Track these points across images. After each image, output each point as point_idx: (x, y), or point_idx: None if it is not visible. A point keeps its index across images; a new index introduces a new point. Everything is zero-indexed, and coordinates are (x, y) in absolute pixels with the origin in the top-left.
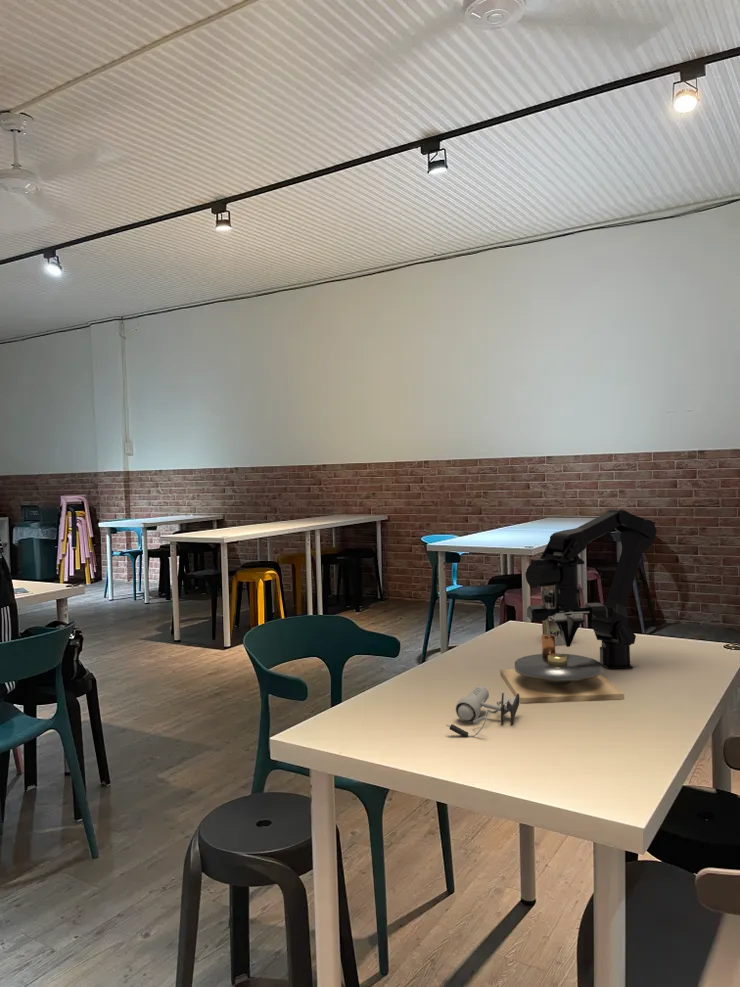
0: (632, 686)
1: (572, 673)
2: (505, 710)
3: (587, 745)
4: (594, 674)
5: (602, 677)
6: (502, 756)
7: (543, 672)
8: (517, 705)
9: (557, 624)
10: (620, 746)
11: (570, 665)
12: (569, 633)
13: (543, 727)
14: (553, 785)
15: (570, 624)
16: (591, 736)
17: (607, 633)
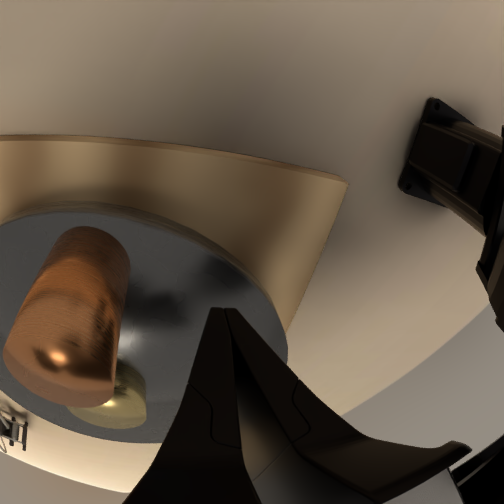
0: (326, 344)
1: (137, 435)
2: (11, 422)
3: (116, 464)
4: None
5: (283, 324)
6: (34, 453)
7: (57, 416)
8: (26, 433)
9: (157, 465)
10: None
11: (154, 399)
12: (242, 420)
13: (67, 438)
14: (79, 476)
15: (270, 490)
16: (125, 458)
17: (497, 288)
